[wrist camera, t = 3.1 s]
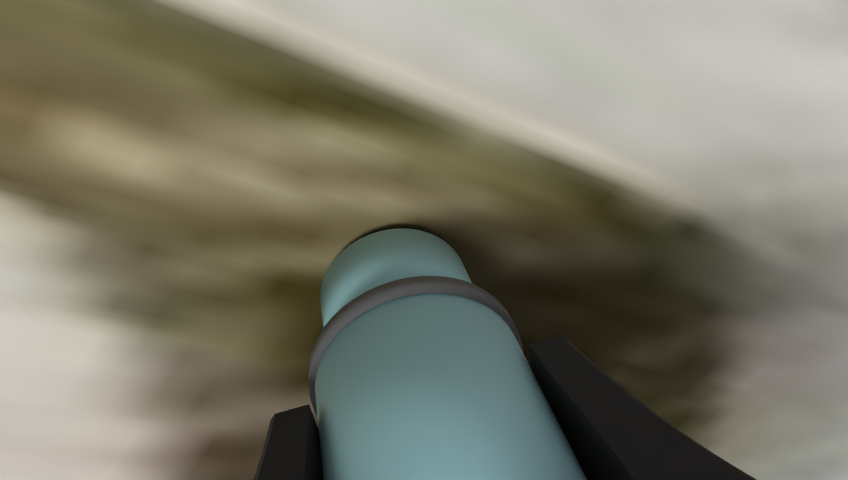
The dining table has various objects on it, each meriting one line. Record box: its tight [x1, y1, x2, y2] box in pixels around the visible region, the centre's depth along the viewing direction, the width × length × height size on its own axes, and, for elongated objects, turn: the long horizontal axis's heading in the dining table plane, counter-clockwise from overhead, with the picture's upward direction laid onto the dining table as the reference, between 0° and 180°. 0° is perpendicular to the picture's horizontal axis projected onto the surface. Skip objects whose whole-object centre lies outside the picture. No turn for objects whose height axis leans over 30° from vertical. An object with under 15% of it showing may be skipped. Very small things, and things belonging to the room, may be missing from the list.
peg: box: [308, 228, 587, 480], centre depth 12 cm, size 4×4×9 cm
